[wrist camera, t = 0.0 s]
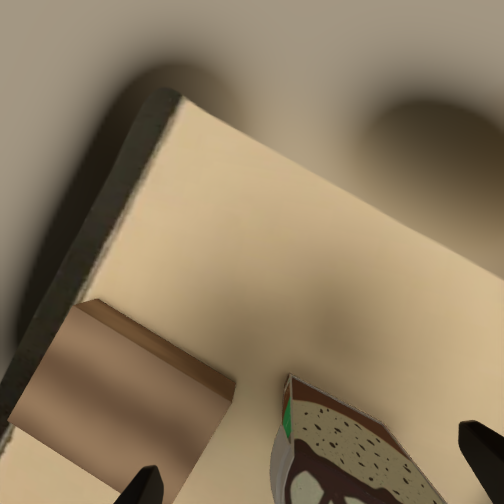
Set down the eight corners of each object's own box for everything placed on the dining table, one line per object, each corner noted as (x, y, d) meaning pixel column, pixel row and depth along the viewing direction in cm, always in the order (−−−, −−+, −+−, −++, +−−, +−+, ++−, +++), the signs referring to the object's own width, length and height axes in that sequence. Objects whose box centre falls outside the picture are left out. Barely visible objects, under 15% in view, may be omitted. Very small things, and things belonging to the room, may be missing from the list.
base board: (175, 485, 23) (162, 520, 20) (39, 399, 24) (7, 420, 21) (235, 383, 23) (231, 402, 20) (97, 298, 24) (73, 305, 21)
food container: (243, 424, 23) (229, 555, 13) (274, 365, 23) (283, 451, 13) (366, 491, 23) (448, 680, 13) (398, 431, 23) (507, 573, 13)
